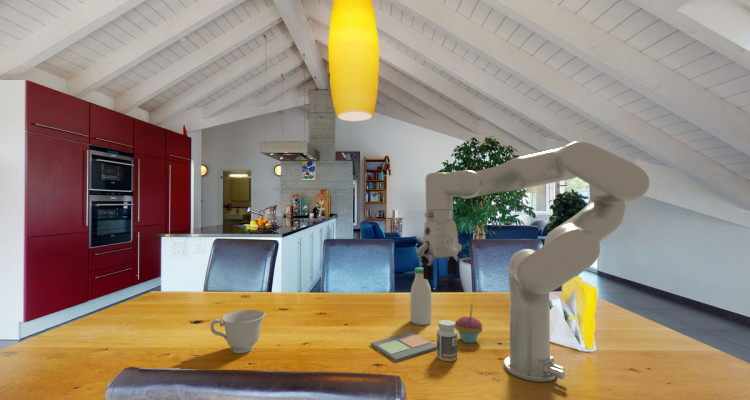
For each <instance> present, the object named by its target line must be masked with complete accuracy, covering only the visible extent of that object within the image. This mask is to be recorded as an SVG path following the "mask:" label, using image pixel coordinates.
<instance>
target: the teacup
mask: <svg viewBox="0 0 750 400" xmlns="http://www.w3.org/2000/svg"><path fill="white" fill-rule="evenodd" d="M264 317H265V312H264V311H262V310H259V309H240V310H236V311H231V312H228V313H226V314H224V315H223V316H222V317H221V319H220V318H215V319H214V320H212V322H211V323H210V332H211V333H212V334H214V335H215V336H219V337H223V339H225V341H226V343H227V345H228V347H230V348H232V352H233V353H235V354H246V353H249V352H251V351H252V350H253V349H254V345H256V343H258V341H259V340H260V336H261V329H262V322H263V318H264ZM215 324H219V327H224V331H225V334H224V333H223V332H220V331H217V330H216V329H215V327H214V326H215Z"/></svg>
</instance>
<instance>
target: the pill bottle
mask: <svg viewBox="0 0 750 400" xmlns="http://www.w3.org/2000/svg"><path fill="white" fill-rule="evenodd" d="M437 324H438V329H437V331H436V345H437V349H436V356H437V358H438V359H440V360H441V361H444V362H454V361H456V360H457V358H458V333H457V330H456V328H455V324H456V321H453V320H449V319H441V320H439V321H438V323H437Z"/></svg>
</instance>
